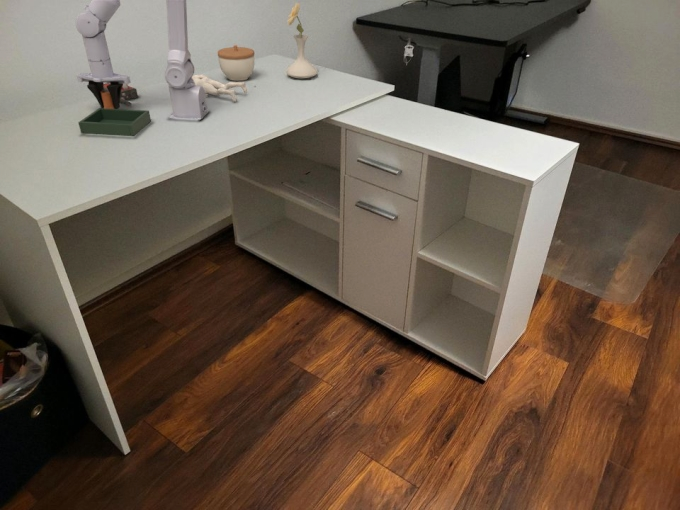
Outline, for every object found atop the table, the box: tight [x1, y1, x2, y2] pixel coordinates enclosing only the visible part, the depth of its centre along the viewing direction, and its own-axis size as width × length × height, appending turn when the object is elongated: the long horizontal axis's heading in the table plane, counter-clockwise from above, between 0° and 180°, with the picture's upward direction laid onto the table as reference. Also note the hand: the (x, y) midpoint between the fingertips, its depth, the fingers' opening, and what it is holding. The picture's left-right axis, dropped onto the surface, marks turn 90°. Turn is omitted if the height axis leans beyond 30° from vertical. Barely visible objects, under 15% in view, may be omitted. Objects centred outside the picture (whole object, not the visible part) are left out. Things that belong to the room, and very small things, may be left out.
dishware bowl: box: [217, 44, 255, 82], centre depth 182 cm, size 13×13×11 cm
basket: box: [77, 107, 152, 137], centre depth 143 cm, size 15×12×4 cm
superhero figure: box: [192, 73, 248, 103], centre depth 169 cm, size 12×6×25 cm
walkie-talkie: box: [104, 83, 139, 106], centre depth 164 cm, size 9×4×20 cm
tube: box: [101, 89, 114, 109], centre depth 151 cm, size 3×3×7 cm
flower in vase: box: [285, 2, 318, 79], centre depth 181 cm, size 13×11×25 cm
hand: (110, 107), depth 151 cm, fingers closed on tube, 3 cm apart
